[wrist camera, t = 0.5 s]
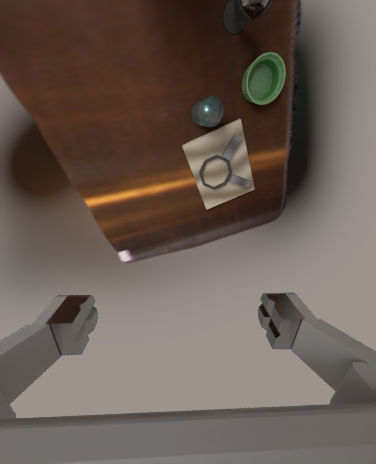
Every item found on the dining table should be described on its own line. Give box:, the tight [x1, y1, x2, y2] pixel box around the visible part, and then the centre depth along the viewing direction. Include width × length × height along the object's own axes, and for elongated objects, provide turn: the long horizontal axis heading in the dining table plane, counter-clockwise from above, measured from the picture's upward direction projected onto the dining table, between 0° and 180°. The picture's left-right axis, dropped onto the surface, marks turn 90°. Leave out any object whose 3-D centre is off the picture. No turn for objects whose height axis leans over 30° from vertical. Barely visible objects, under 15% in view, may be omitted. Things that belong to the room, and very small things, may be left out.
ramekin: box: [242, 52, 286, 105], centre depth 42 cm, size 9×9×4 cm
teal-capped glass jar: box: [191, 96, 223, 127], centre depth 41 cm, size 5×5×10 cm
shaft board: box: [182, 119, 254, 209], centre depth 52 cm, size 20×16×4 cm
